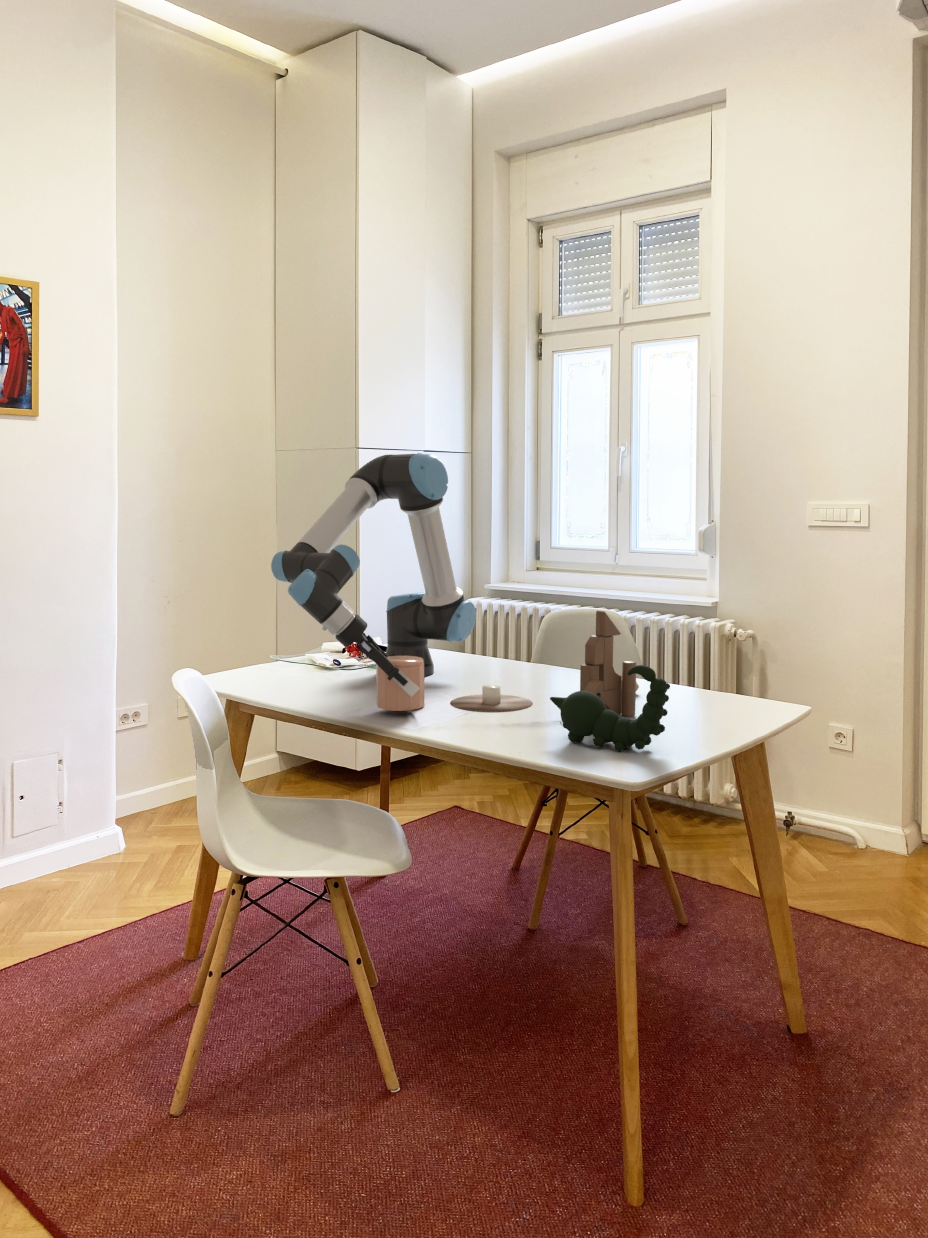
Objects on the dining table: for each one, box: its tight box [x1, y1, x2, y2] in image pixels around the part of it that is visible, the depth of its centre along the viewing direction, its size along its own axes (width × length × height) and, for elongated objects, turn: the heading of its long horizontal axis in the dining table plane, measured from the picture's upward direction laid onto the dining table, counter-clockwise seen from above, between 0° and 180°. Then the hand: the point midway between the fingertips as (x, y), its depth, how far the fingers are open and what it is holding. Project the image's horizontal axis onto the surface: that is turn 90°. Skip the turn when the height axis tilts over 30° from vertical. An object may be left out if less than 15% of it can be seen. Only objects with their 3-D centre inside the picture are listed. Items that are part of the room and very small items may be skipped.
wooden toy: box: [579, 610, 637, 718], centre depth 221 cm, size 15×7×25 cm, turn 130°
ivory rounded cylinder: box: [481, 684, 502, 705], centre depth 232 cm, size 4×4×4 cm
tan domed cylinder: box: [375, 656, 425, 712], centre depth 227 cm, size 11×11×11 cm
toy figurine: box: [549, 664, 671, 753], centre depth 197 cm, size 9×19×25 cm
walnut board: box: [449, 693, 534, 713], centre depth 232 cm, size 20×20×2 cm
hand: (412, 687), depth 228 cm, fingers closed on tan domed cylinder, 11 cm apart
